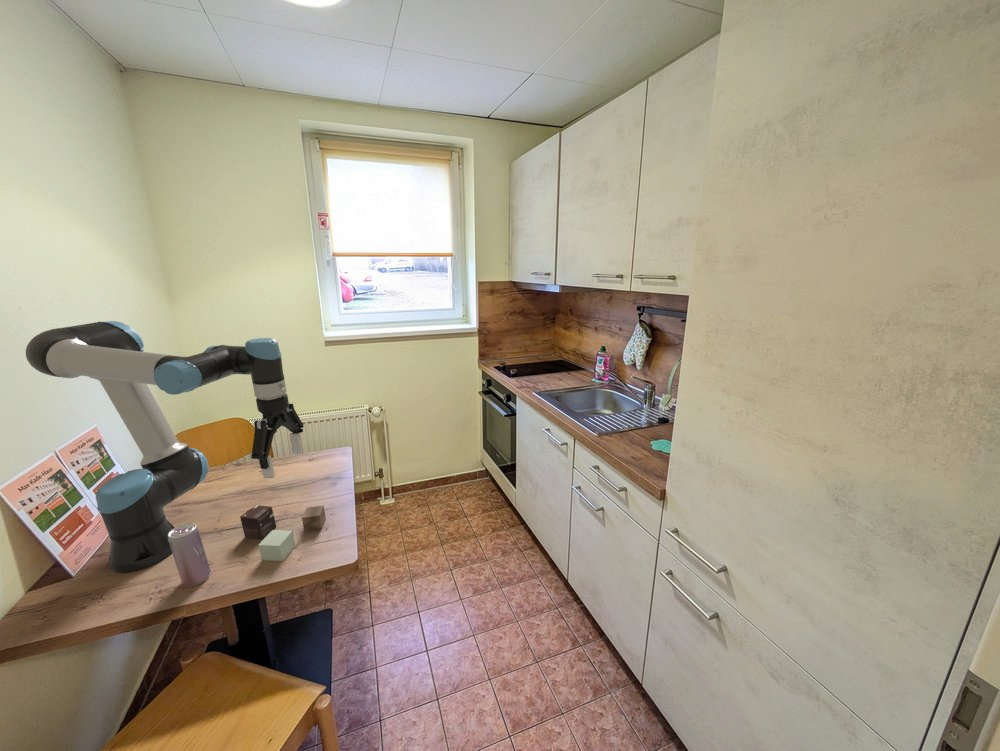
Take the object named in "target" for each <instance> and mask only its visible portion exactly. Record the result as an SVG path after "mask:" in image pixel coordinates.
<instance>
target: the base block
mask: <svg viewBox="0 0 1000 751" xmlns="http://www.w3.org/2000/svg"><path fill="white" fill-rule="evenodd" d="M295 547H296V541H295V537H294V531H293V530H282V529H281V530H279V529H278V530H277V529H273V530H272V531H271V532H270V533H269V534H268V535H267V536H265V537H264V538H263V539H262V540H261V541H260V543H259V544H258V549H259V552H260V553H259V554H260V558H261V561H270V562H271V561H272V562H273V561H275V562H283V561H284V560H285V559H286V557H288V555H289V554H290V553H291V551H292V550H294V548H295Z"/></svg>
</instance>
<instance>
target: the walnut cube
mask: <svg viewBox="0 0 1000 751" xmlns="http://www.w3.org/2000/svg"><path fill="white" fill-rule="evenodd" d="M326 519H327V517H326V512H325V507H324V505H318V506H309V507H308V506H307V507H306V508H305V511H304V512H303V515H302V516H301V521H302V526H303V530H304V532H311V531H319V530H323V528H324V525H325V523H326Z"/></svg>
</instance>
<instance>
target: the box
mask: <svg viewBox="0 0 1000 751" xmlns="http://www.w3.org/2000/svg"><path fill="white" fill-rule="evenodd" d="M239 518H240V522H241V526H242V529H243V533H244V537H245V538H248V539H257V540H263V539H264V538H265V537H266V536H267V535H268V534H269V533H270V532H271V531H272V530H275V529H276V528H277V523H276V520H275V519H276V518H275V515H274V511H273V507H272V506H268V505H259V504H257V505H256V504H255V505H254V506H253V507H251V508H249V509H248V510H246V512H244V513H243V514H242V515H240V517H239Z"/></svg>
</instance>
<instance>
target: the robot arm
mask: <svg viewBox="0 0 1000 751" xmlns="http://www.w3.org/2000/svg"><path fill="white" fill-rule="evenodd" d="M144 347H145V343H144V341H143V339H142V337H141V335H140V334H139V333H138V332H137V331H136V330H135V329H134V328H133V327H131V326H130V325H129V324H128V325H127V324H125V323H124V322H121V321H115V320H108V321H96V322H91V323H84V324H78V325H72V326H71V325H70V326H66V327H58V328H51V329H49V330H45V331H42V332H40V333H38V334H36V335H35V336H34V337H33V338H31V339H30V341H29V342H28V344H27V345H26V348H25V358H26V360H27V362H28V363H29V365H30V366H31V367H32V368H34V370H36V371H38V372H40V373H42V374H44V375H48V376H51V377H57V378H63V379H75V378H79V377H81V376H83V377H88V378H90V379H94V380H97V381H99V383H100V384H101V386H102V388H103V389H104V391H105V392H106V394H107V396H108V398H109V400H110V402H111V403H112V404H113V406H114V408H115V410H116V411H117V413H118V415H119V416H120V418H121V420H122V421H123V424H124V425H125V426H126V429H127V430H128V432H129V434H130V435H131V437H132V439H133V440H134V442H135V444H136V446H137V447H138V449H139V451H140V452H141V454H142V458H141V461H140V463H139V464H140V466H141V468H137V469H132V470H128V471H126V472H124V473H123V472H122V473H120V474H118V475H115V476H113V477H111V478H110V479H108V480H106V481H105V482H104V483H102V485H101V486H100V487H98V489H97V491H96V493H95V501H96V505H97V506H96V508H97V510H98V511H99V513H100V515H101V518H102V521H103V523H104V526H105V528H106V531H107V533H108V537H109V539H110V545H109V546H110V547H109V557H108V564H109V566H110V568H111V570H112V571H113V572H114V573H115V572H116V573H130V572H135V571H139V570H142V569H145V568H148V567H151V566H152V565H155V564H158V563H159V562H161V561H162V560H164V559H166V558H168V556H170V555H171V554H172V551H171V548H170V545H169V542H168V533H169V532H170V531H171V530H173V529H174V528H176V527H175V526H174V525H173V524H172V523H171V522H170V521H169V520H168V519H167V517H166V514H165V511H164V508H165V507H166V506H168V505H170V503H172V502H174V501H175V500H177V499H178V498H180V497H182V496H183V495H184V494H186V493H187V492H189V491H192V490H194V488H196V487H197V486H198V485H200V484H201V483H202V482H204V480H205V479H206V478H207V475H208V474H209V462H208V460H207V457H206V456H205V454H203V452H202V451H201V452H200V450H199V449H196V448H193V447H189V445H188V444H187V443H185V442H180V441H179V440H178V438H177V436H176V434H175V433H174V430H173V429H172V427H171V425H170V423H169V422H168V420H167V419H166V416H165V415H164V412H163V411H162V409H161V407H160V406H159V403H158V402H157V400H156V398H155V397H154V395H153V392H152V391H151V389H150V388H149V386H148V385H154V386H157V388H159V390H160V391H163V392H165V393H166V394H168V395H172V396H174V395H179V394H183V393H190V392H191V391H194V390H196V389H198V388H200V387H203V386H206V385H208V384H210V383H213V382H217V381H219V380H222V379H224V378H227V377H230V376H232V375H249V376H250V378H251V382H252V388H253V393H254V396H255V398H256V399H255V403H256V409H257V411H258V412H259V413H260V414H261V415H262V419H261V420H255V421H254V424H253V425H254V433H253V434H254V435H253V440H252V441H253V443H252V448H251V449H252V450H251V457H250V458H251V459H252V460H258V462H259V465H260V466H259V467H260V469H261V472H262V476H263V479H274V478H276V476H275V470H274V466H273V462H272V461H273V460H272V456H271V455H269V454H270V450H271V446H272V443H273V440H274V436H275V434H276V433H277V431H278V429H279V428H281V427H282V426H283V427H285V428H286V429H287V431H289V432H290V433H289V435H288V436H289V440H290V441H289V442H290V446H291V451H292V455H293V454H294V455H296V454H297V455H302V454H303V448H302V440H301V439H302V438H301V434H302V433H304V429H303V428H304V427H305V426H304V424H303V422H302V420H301V418H300V417H299V415H298V413H297V411H296V410H295V407H294V403H289V395H288V394H287V386H286V381H285V374H284V369H283V368H284V367H283V361H282V360H283V359H282V352H281V350H280V347H279V342H278V341H277V340H276V339H275V338H271V337H264V338H263V337H261V338H260V337H258V338H253V339H249V340H247V341H246V342H245V344H244V346H242V345H225V344H220V345H210V346H207V348H206V349H205V350H204V351H203V352H201V353H197V354H193V355H189V356H180V355H179V356H178V355H170V354H164V353H155V352H147V351H145V350H144Z"/></svg>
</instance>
